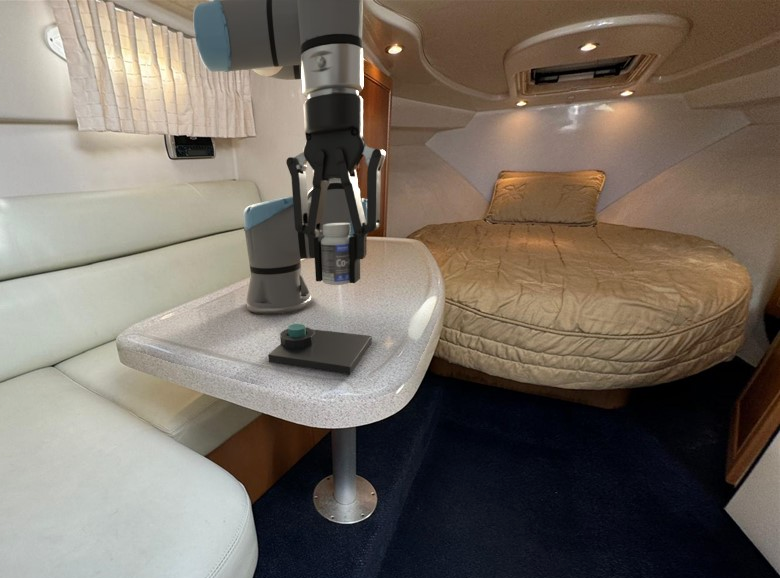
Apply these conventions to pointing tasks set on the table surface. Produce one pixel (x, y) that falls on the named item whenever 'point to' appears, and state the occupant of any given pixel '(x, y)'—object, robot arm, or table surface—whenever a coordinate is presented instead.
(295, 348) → the dark grey base board
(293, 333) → the power button
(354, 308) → the table surface
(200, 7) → the robot arm
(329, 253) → the pill bottle
